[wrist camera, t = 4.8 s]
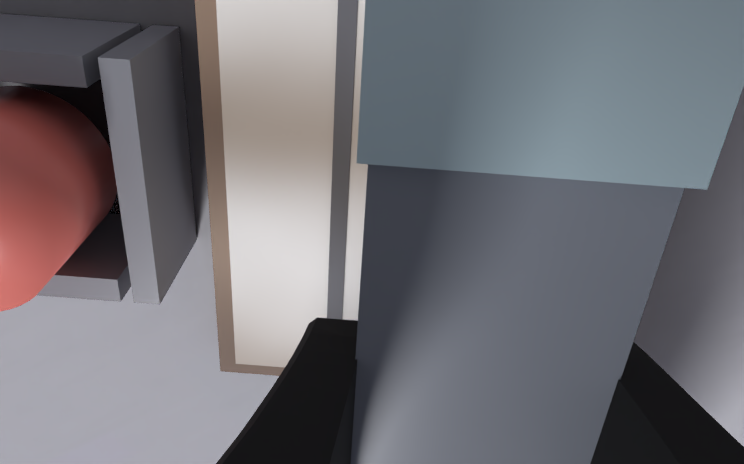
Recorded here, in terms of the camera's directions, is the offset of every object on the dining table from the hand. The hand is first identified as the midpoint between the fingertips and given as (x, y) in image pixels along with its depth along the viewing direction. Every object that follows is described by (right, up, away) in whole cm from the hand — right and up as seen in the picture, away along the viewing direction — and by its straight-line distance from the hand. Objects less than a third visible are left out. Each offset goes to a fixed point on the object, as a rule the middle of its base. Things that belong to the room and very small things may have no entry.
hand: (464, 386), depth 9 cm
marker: (0, +1, +2) cm, 2 cm away
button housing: (-9, +5, +7) cm, 12 cm away
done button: (-9, +4, +5) cm, 11 cm away
